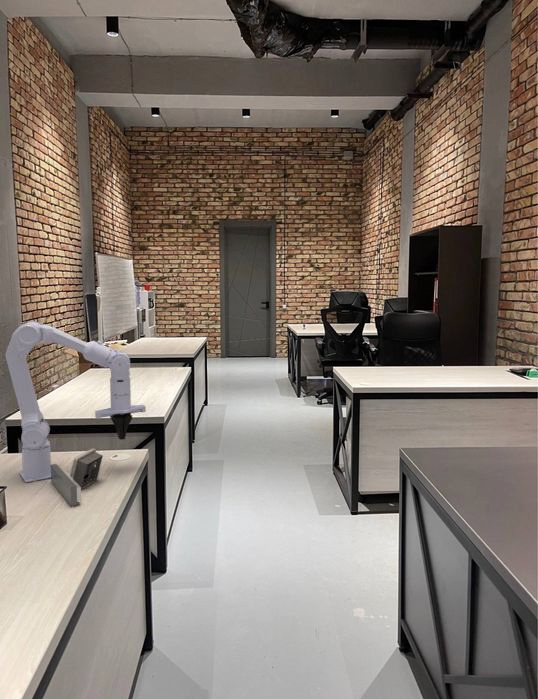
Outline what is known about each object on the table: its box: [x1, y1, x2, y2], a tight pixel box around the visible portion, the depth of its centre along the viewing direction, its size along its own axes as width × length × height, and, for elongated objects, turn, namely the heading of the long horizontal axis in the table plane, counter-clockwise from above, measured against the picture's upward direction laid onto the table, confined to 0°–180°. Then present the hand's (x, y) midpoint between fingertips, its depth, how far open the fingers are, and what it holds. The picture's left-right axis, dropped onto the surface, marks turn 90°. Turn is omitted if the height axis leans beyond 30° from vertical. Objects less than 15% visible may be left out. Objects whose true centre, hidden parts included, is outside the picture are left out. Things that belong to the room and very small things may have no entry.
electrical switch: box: [69, 447, 103, 490], centre depth 146 cm, size 9×5×9 cm, turn 166°
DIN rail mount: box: [50, 463, 82, 508], centre depth 140 cm, size 20×2×5 cm, turn 35°
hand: (121, 438), depth 158 cm, fingers closed
